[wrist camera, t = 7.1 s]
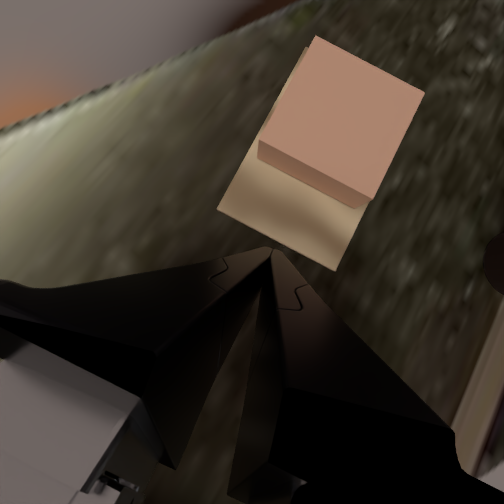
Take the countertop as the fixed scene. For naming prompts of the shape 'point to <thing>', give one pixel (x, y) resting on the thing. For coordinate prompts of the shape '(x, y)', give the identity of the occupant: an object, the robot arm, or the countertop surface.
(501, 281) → the coffee mug
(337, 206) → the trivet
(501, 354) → the countertop surface
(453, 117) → the countertop surface
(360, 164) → the pink square picture frame
